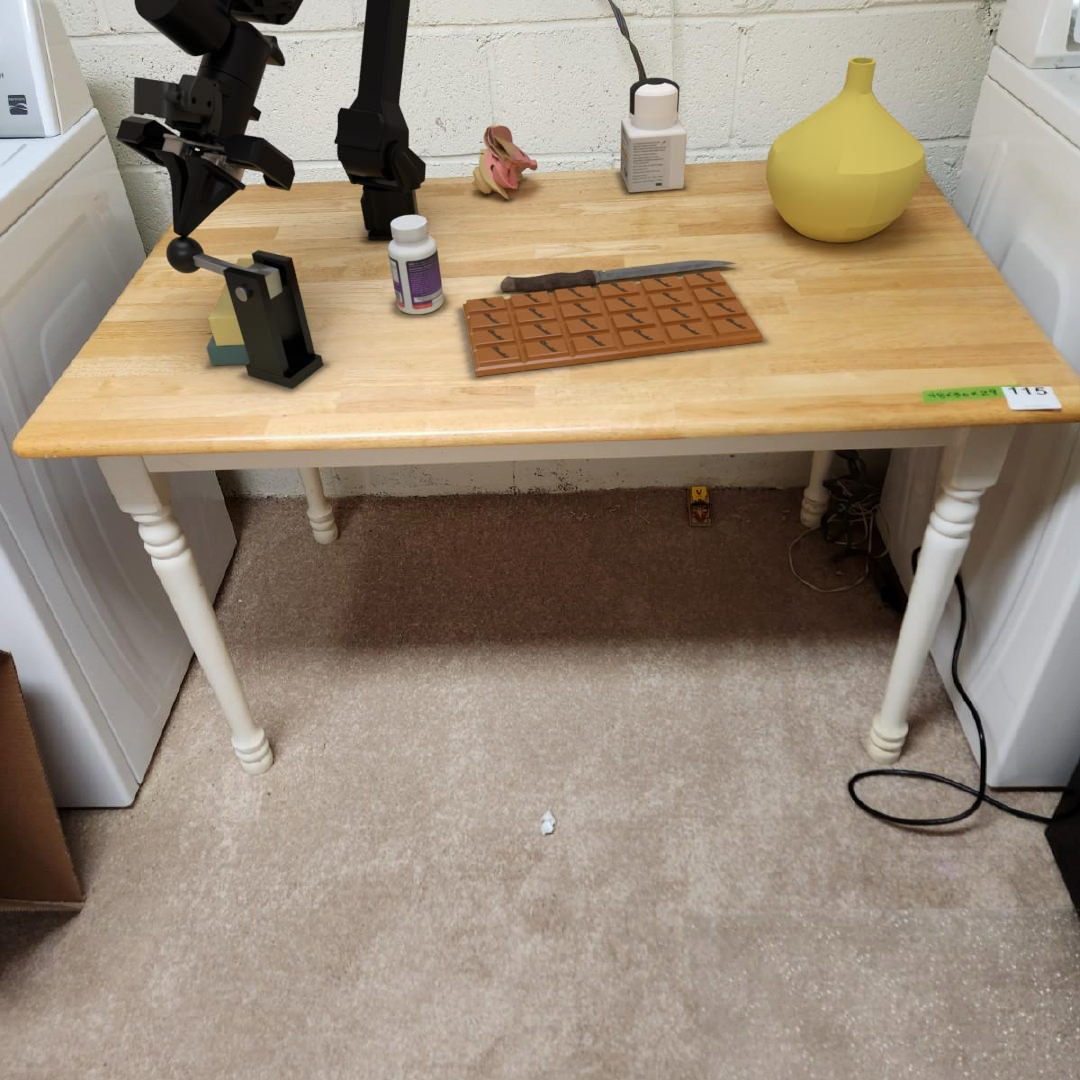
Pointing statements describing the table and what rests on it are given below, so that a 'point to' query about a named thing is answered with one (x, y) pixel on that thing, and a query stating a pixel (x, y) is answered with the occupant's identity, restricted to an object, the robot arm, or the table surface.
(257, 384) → the table surface
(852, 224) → the vase
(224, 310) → the butter
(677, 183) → the container
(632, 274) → the knife
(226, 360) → the butter dish
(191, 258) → the lever handle
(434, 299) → the pill bottle
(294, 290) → the stand
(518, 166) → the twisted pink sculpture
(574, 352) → the chocolate bar
